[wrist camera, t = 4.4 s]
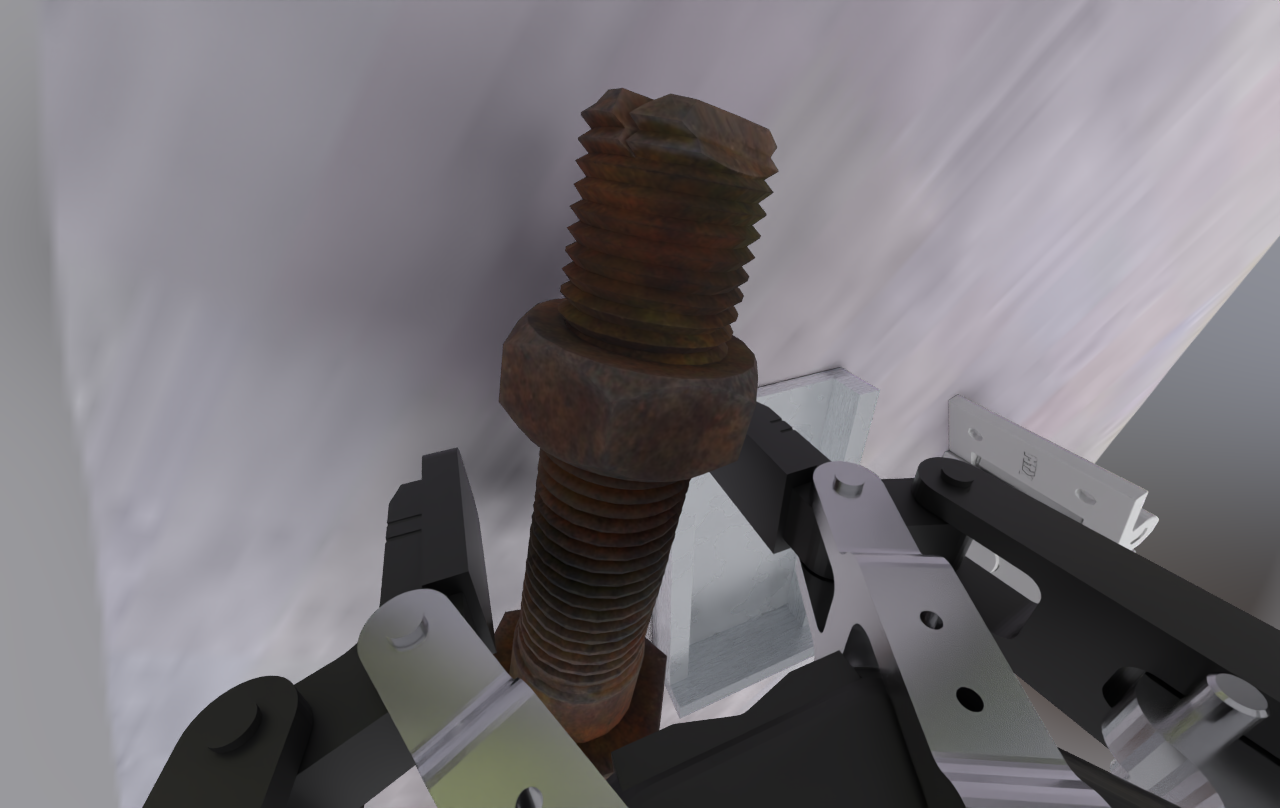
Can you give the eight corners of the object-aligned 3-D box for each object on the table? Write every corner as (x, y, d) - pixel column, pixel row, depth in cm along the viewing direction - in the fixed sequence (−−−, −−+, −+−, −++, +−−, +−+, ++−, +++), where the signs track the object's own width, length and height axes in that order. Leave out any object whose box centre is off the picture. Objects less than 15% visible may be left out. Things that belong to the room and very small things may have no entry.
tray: (841, 367, 25) (903, 403, 22) (790, 600, 35) (828, 648, 32) (648, 414, 22) (689, 465, 19) (652, 658, 32) (679, 718, 29)
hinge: (948, 395, 30) (1141, 494, 22) (1005, 379, 32) (1203, 466, 24) (891, 549, 38) (1022, 665, 30) (940, 529, 39) (1076, 634, 31)
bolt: (642, 124, 11) (560, 602, 17) (429, 50, 7) (425, 701, 13) (917, 164, 8) (695, 722, 14) (809, 73, 4) (572, 893, 10)
